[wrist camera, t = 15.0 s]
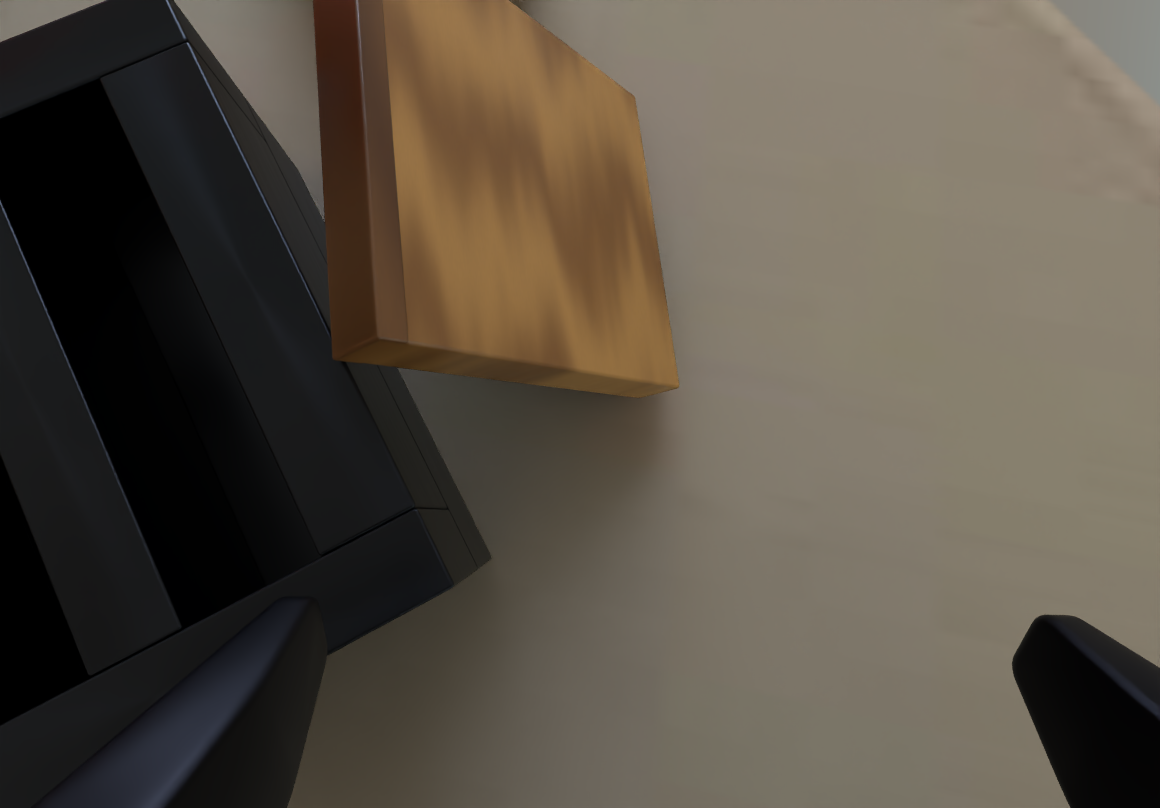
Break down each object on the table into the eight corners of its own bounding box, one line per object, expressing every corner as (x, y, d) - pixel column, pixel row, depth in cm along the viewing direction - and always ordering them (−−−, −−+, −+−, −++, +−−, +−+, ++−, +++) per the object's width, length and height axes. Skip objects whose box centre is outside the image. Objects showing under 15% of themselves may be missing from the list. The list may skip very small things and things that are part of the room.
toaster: (492, 558, 18) (455, 586, 11) (98, 772, 16) (-230, 958, 10) (297, 168, 19) (157, -23, 13) (-75, 333, 18) (-460, 222, 11)
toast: (681, 387, 18) (379, 338, 10) (638, 399, 19) (331, 360, 11) (636, 95, 19) (347, -128, 12) (598, 118, 20) (307, -76, 13)
